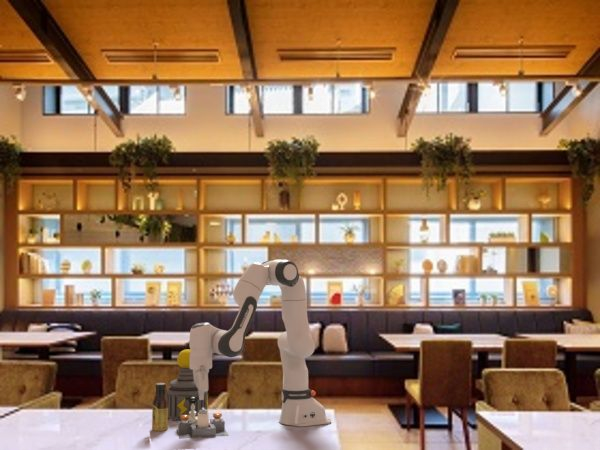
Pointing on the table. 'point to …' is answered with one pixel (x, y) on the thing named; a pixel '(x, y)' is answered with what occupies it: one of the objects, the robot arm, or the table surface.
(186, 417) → the plunger
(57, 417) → the table surface
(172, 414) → the decorative lamp
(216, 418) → the plunger
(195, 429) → the housing
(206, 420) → the cylinder
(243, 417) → the table surface
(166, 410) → the sauce bottle
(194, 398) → the valve
